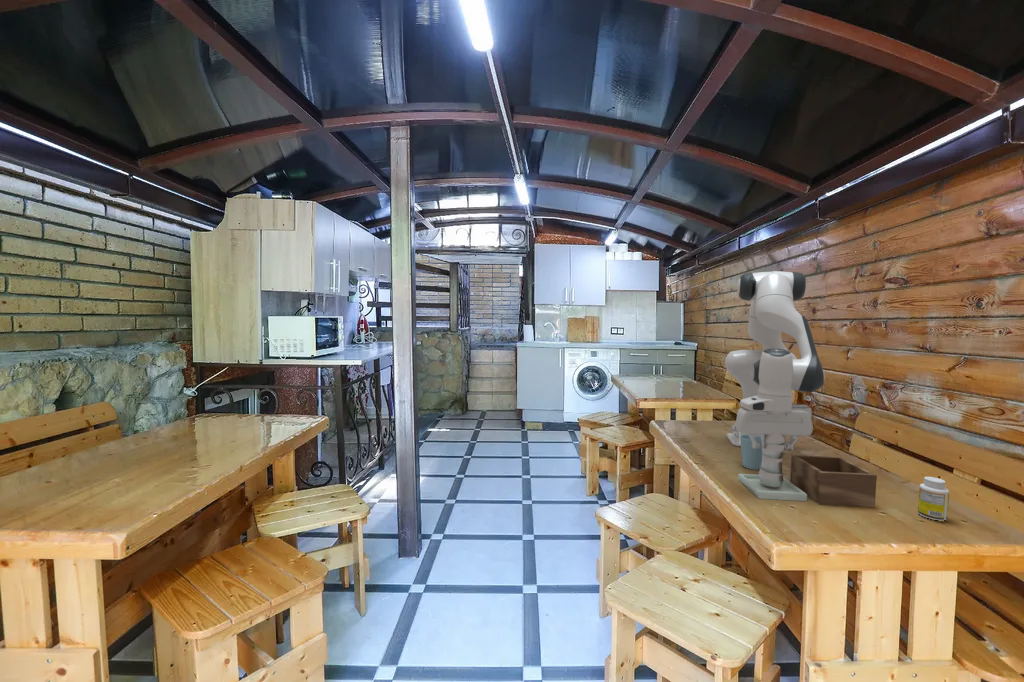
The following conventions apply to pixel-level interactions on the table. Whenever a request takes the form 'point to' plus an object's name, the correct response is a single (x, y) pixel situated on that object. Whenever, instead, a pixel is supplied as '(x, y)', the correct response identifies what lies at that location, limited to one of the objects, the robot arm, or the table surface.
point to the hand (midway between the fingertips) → (772, 448)
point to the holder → (833, 480)
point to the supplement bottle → (933, 499)
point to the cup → (751, 452)
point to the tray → (772, 489)
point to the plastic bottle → (772, 460)
